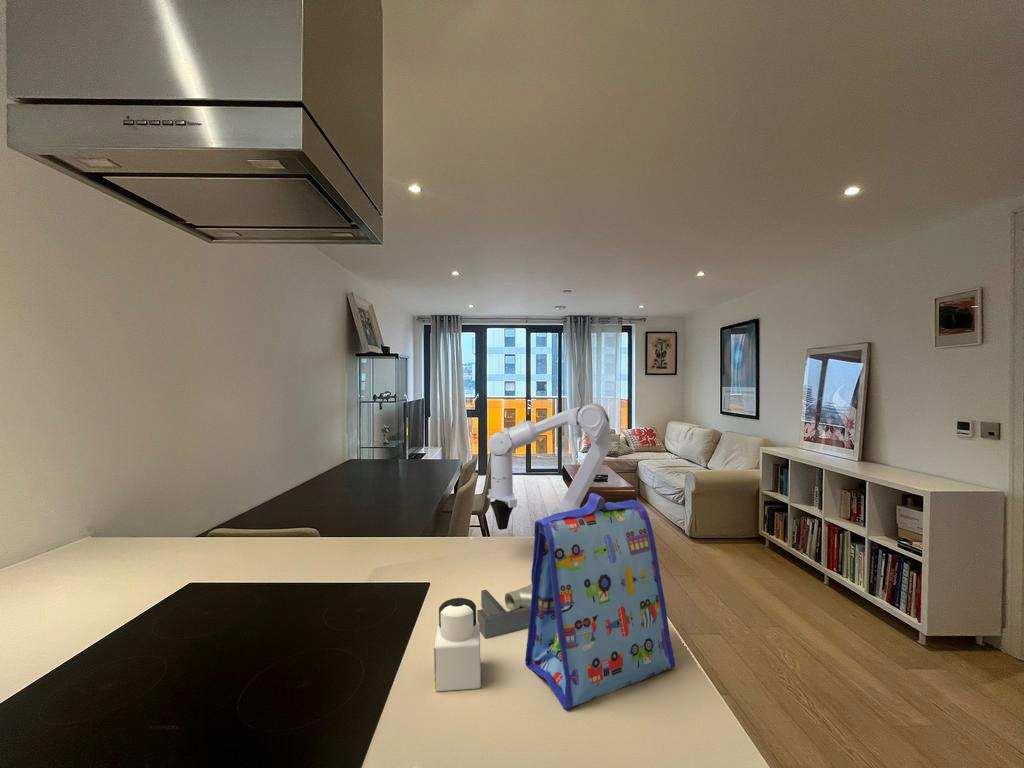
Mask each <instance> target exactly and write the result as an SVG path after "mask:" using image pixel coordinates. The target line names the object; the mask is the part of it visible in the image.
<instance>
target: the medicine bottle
mask: <svg viewBox="0 0 1024 768" xmlns="http://www.w3.org/2000/svg"><path fill="white" fill-rule="evenodd" d="M436 628H437V629H436V633H435V640H434V648H433V650H434V651H433V653H434V656H433V657H434V659H433V660H434V661H433V662H434V691H435V692H449V691H461V690H462V691H463V690H464V691H465V690H476V689H481V685H482V679H481V671H482V669H481V632H480V624H479V622H477V606H476V603H475V602H474V601H473V600H471V599H469V598H465V597H453V598H449V599H447V600H446V601H444V602H442V603H441V605H440V606H439V607H438V624H437V626H436Z"/></svg>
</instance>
